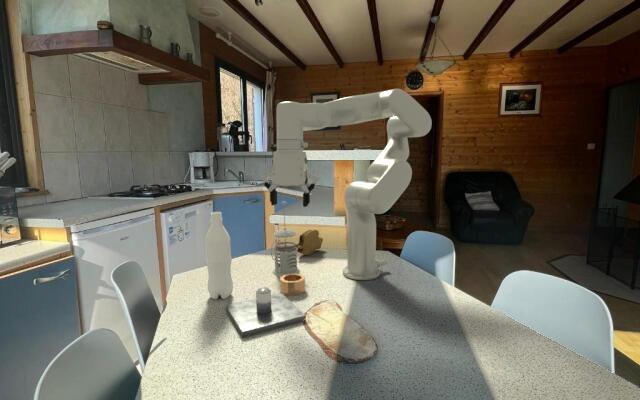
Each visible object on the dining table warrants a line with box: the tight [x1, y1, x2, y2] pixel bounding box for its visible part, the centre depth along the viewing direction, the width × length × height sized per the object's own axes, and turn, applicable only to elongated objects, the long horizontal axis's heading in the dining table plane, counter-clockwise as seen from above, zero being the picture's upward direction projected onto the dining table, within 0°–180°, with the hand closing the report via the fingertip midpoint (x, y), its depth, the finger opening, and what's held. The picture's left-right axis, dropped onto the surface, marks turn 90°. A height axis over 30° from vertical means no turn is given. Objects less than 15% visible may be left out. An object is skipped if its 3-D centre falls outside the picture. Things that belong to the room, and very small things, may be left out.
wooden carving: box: [295, 229, 324, 256], centre depth 143 cm, size 16×5×10 cm, turn 150°
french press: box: [270, 200, 301, 277], centre depth 121 cm, size 10×12×25 cm
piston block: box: [225, 286, 306, 339], centre depth 91 cm, size 16×16×7 cm
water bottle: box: [204, 211, 234, 300], centre depth 102 cm, size 7×7×25 cm
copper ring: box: [279, 273, 306, 296], centre depth 106 cm, size 7×7×4 cm
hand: (289, 205), depth 103 cm, fingers open, 9 cm apart
